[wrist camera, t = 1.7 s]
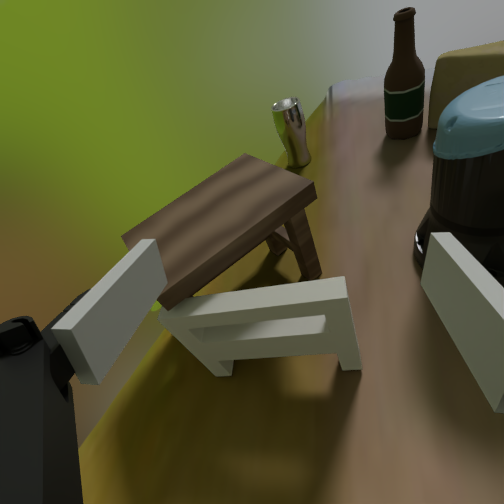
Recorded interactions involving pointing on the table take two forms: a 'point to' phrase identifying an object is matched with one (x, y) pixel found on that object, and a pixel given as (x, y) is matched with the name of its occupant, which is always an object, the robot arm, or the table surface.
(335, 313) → the gate leg
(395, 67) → the beer bottle
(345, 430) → the table surface
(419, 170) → the table surface
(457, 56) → the cheese
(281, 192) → the stool
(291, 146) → the beer glass
